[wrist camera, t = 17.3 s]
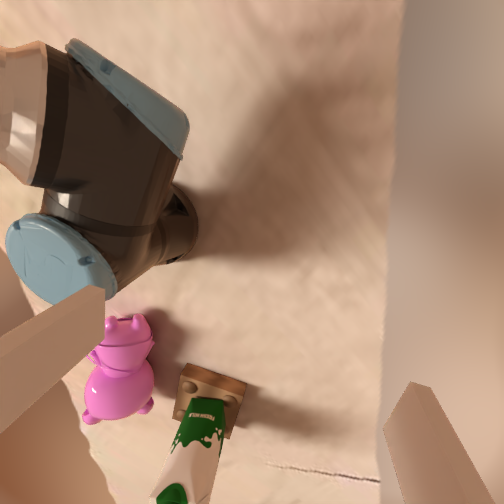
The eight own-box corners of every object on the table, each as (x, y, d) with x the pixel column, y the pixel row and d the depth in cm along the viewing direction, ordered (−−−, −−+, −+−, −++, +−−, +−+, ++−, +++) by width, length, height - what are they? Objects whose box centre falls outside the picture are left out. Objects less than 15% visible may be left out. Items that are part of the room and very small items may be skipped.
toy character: (85, 297, 56) (81, 398, 60) (68, 329, 44) (64, 452, 48) (162, 298, 61) (152, 390, 66) (165, 326, 49) (153, 436, 54)
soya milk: (227, 397, 55) (194, 521, 36) (230, 427, 58) (202, 556, 39) (187, 393, 56) (136, 512, 37) (192, 423, 59) (147, 547, 41)
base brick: (179, 403, 64) (171, 419, 60) (188, 361, 59) (179, 375, 55) (233, 422, 63) (229, 440, 59) (247, 381, 58) (243, 398, 54)
